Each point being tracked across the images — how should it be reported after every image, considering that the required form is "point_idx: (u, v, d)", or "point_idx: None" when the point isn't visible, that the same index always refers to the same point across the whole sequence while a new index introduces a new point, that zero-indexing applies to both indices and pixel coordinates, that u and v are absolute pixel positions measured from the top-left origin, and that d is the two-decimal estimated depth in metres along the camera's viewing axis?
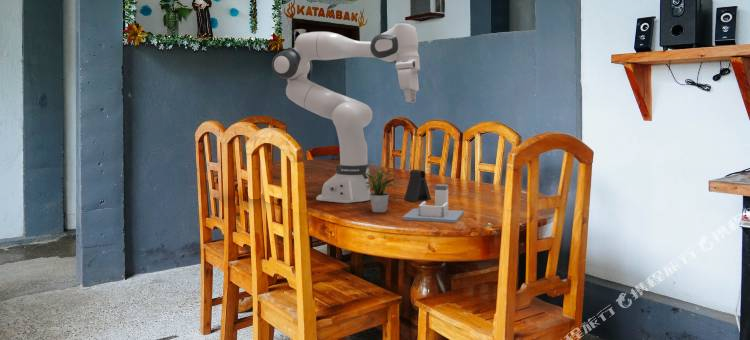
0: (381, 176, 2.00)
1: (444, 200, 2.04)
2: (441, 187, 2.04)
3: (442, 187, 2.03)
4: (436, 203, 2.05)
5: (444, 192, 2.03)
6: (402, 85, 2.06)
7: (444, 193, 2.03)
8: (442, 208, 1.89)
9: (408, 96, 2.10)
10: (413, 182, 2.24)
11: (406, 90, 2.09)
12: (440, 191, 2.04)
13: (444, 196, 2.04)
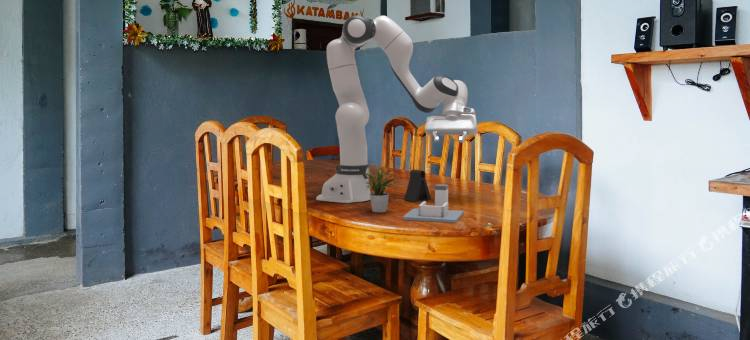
0: (381, 176, 2.00)
1: (444, 200, 2.04)
2: (441, 187, 2.04)
3: (442, 187, 2.03)
4: (436, 203, 2.05)
5: (444, 192, 2.03)
6: (476, 128, 2.15)
7: (444, 193, 2.03)
8: (442, 208, 1.89)
9: (464, 138, 2.15)
10: (413, 182, 2.24)
11: (467, 133, 2.15)
12: (440, 191, 2.04)
13: (444, 196, 2.04)
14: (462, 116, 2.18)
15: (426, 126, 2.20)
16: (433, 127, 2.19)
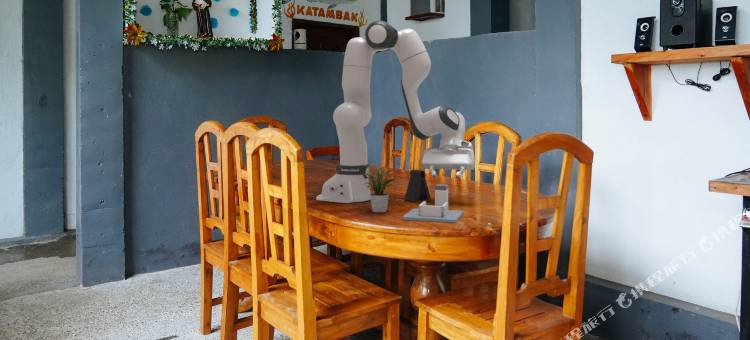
0: (381, 176, 2.00)
1: (444, 200, 2.04)
2: (441, 187, 2.04)
3: (442, 187, 2.03)
4: (436, 203, 2.05)
5: (444, 192, 2.03)
6: (474, 163, 2.11)
7: (444, 193, 2.03)
8: (442, 208, 1.89)
9: (461, 173, 2.11)
10: (413, 182, 2.24)
11: (464, 168, 2.12)
12: (440, 191, 2.04)
13: (444, 196, 2.04)
14: (460, 150, 2.15)
15: (423, 160, 2.17)
16: (430, 161, 2.16)
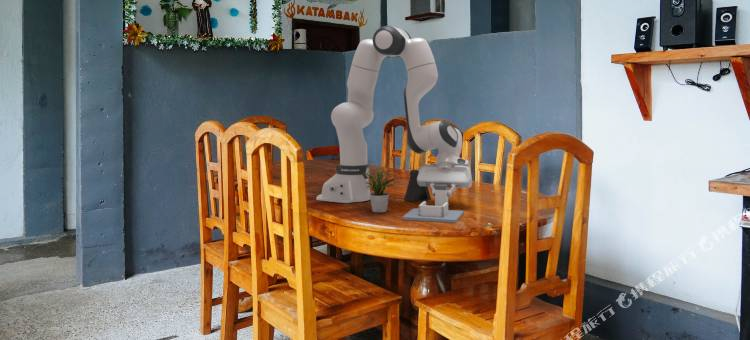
0: (381, 176, 2.00)
1: (444, 200, 2.04)
2: (441, 187, 2.04)
3: (442, 187, 2.03)
4: (436, 203, 2.05)
5: (444, 192, 2.03)
6: (470, 182, 2.05)
7: (444, 192, 2.03)
8: (442, 208, 1.89)
9: (452, 191, 2.06)
10: (413, 182, 2.24)
11: (455, 186, 2.07)
12: (440, 191, 2.04)
13: (444, 196, 2.04)
14: (456, 167, 2.09)
15: (418, 177, 2.11)
16: (426, 178, 2.10)
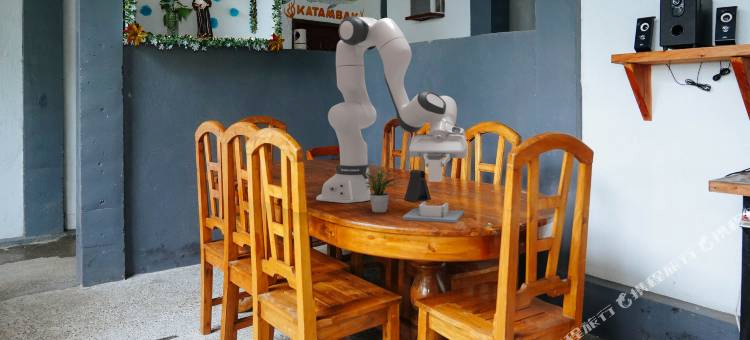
0: (381, 176, 2.00)
1: (438, 170, 1.91)
2: (435, 157, 1.91)
3: (436, 156, 1.90)
4: (429, 174, 1.92)
5: (438, 162, 1.90)
6: (466, 151, 1.92)
7: (438, 162, 1.90)
8: (442, 208, 1.89)
9: (446, 162, 1.93)
10: (413, 182, 2.24)
11: (449, 156, 1.94)
12: (434, 161, 1.91)
13: (438, 166, 1.91)
14: (451, 136, 1.96)
15: (410, 147, 1.98)
16: (418, 148, 1.97)
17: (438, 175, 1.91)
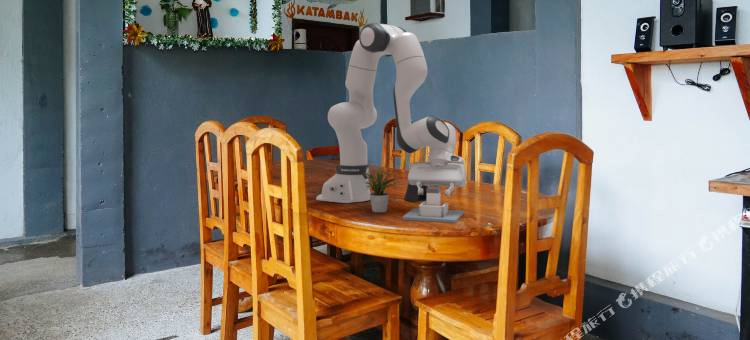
0: (381, 176, 2.00)
1: (436, 204, 1.92)
2: (433, 190, 1.91)
3: (434, 190, 1.91)
4: None
5: (436, 195, 1.91)
6: (464, 180, 1.93)
7: (436, 196, 1.91)
8: (442, 208, 1.89)
9: (450, 191, 1.93)
10: None
11: (454, 185, 1.94)
12: (432, 194, 1.92)
13: (436, 200, 1.91)
14: (450, 165, 1.96)
15: (409, 175, 1.98)
16: (417, 176, 1.97)
17: None
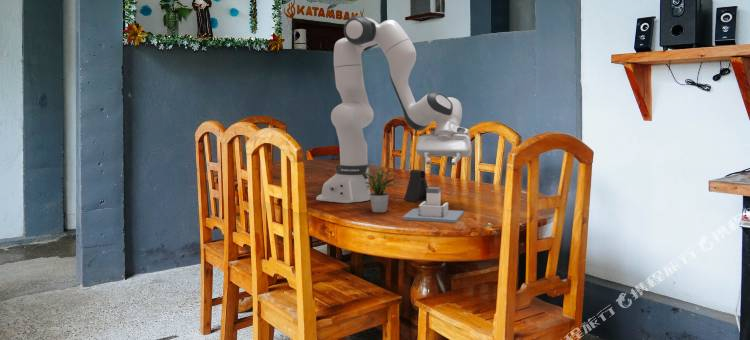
0: (381, 176, 2.00)
1: (436, 204, 1.92)
2: (433, 190, 1.91)
3: (434, 190, 1.91)
4: None
5: (436, 195, 1.91)
6: (470, 150, 2.03)
7: (436, 196, 1.91)
8: (442, 208, 1.89)
9: (457, 160, 2.03)
10: (413, 182, 2.24)
11: (460, 155, 2.04)
12: (432, 194, 1.92)
13: (436, 200, 1.91)
14: (456, 136, 2.06)
15: (417, 146, 2.09)
16: (425, 147, 2.07)
17: None
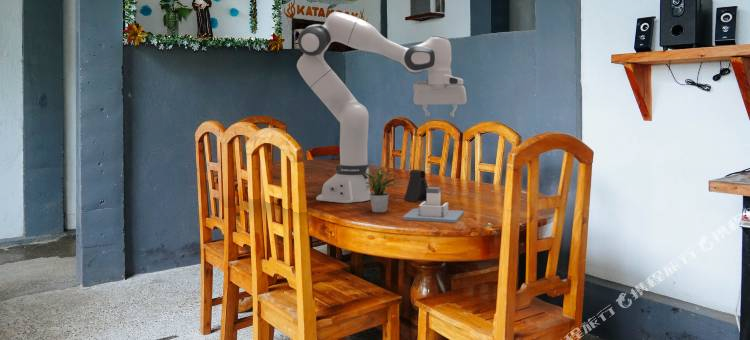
0: (381, 176, 2.00)
1: (436, 204, 1.92)
2: (433, 190, 1.91)
3: (434, 190, 1.91)
4: None
5: (436, 195, 1.91)
6: (465, 101, 2.13)
7: (436, 196, 1.91)
8: (442, 208, 1.89)
9: (454, 111, 2.16)
10: (413, 182, 2.24)
11: (456, 105, 2.15)
12: (432, 194, 1.92)
13: (436, 200, 1.91)
14: (450, 87, 2.13)
15: (414, 100, 2.18)
16: (422, 101, 2.17)
17: None
